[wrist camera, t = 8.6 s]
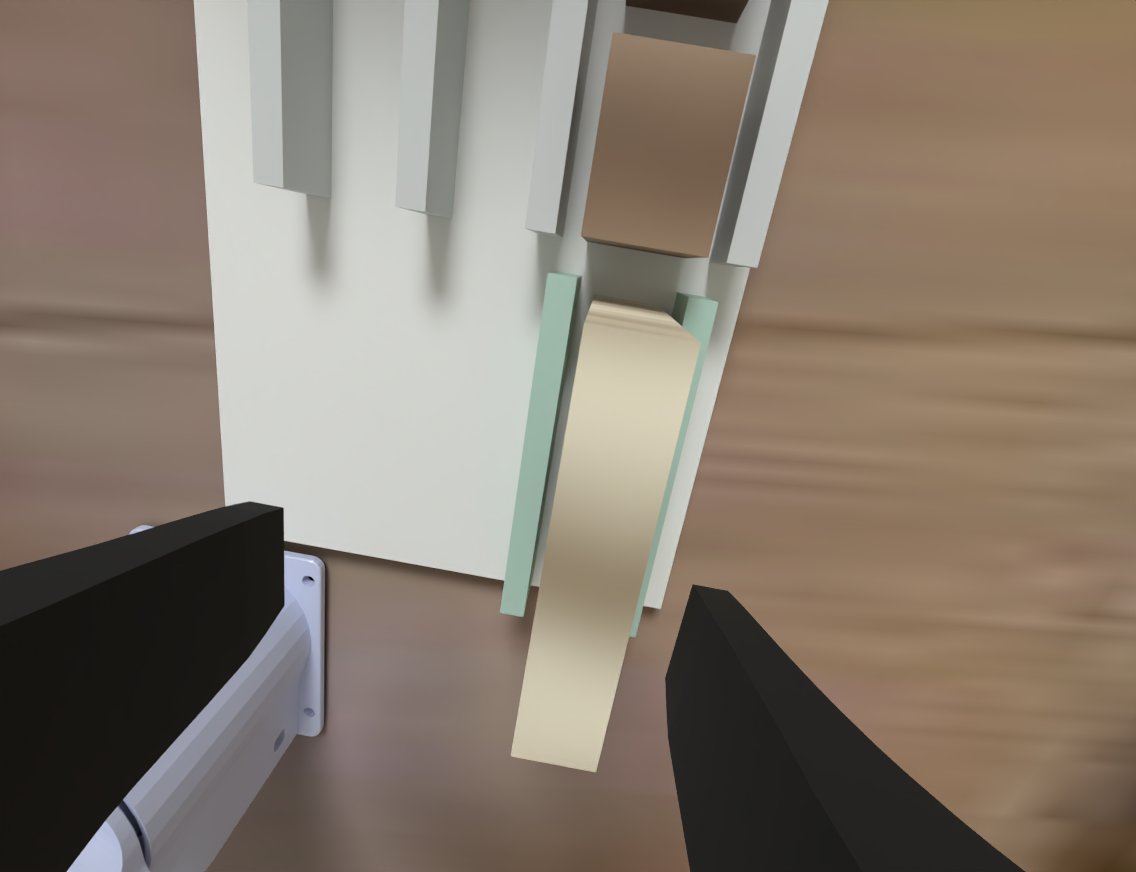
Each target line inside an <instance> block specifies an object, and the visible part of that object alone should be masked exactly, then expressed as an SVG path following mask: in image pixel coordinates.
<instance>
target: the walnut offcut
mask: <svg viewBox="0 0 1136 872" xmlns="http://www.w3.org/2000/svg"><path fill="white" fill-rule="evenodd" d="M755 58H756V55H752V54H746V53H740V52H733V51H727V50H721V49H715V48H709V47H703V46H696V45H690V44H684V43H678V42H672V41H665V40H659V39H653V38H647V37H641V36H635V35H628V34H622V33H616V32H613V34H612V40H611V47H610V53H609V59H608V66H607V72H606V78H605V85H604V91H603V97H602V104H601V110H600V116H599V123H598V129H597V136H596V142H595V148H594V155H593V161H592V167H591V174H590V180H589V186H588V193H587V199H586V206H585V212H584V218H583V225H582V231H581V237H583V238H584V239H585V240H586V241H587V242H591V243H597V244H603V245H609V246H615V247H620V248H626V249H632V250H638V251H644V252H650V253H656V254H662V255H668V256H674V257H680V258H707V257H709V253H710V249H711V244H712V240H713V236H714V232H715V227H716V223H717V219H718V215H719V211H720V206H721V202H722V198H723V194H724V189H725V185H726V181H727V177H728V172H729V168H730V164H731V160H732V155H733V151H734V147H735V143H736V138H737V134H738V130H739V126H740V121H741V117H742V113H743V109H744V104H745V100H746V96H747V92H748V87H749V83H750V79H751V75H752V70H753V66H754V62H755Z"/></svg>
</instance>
